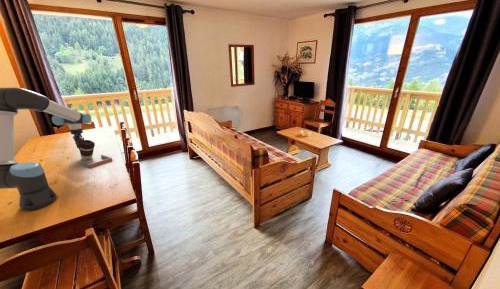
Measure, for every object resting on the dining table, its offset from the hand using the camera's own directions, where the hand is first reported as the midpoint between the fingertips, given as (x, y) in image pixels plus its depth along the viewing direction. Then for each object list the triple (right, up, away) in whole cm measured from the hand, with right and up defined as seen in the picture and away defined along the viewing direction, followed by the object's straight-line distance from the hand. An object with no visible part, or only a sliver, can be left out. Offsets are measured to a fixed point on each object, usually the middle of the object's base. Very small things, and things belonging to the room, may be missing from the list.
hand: (83, 156), depth 171 cm
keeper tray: (+17, -4, -9) cm, 19 cm away
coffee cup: (+4, 0, -2) cm, 5 cm away
